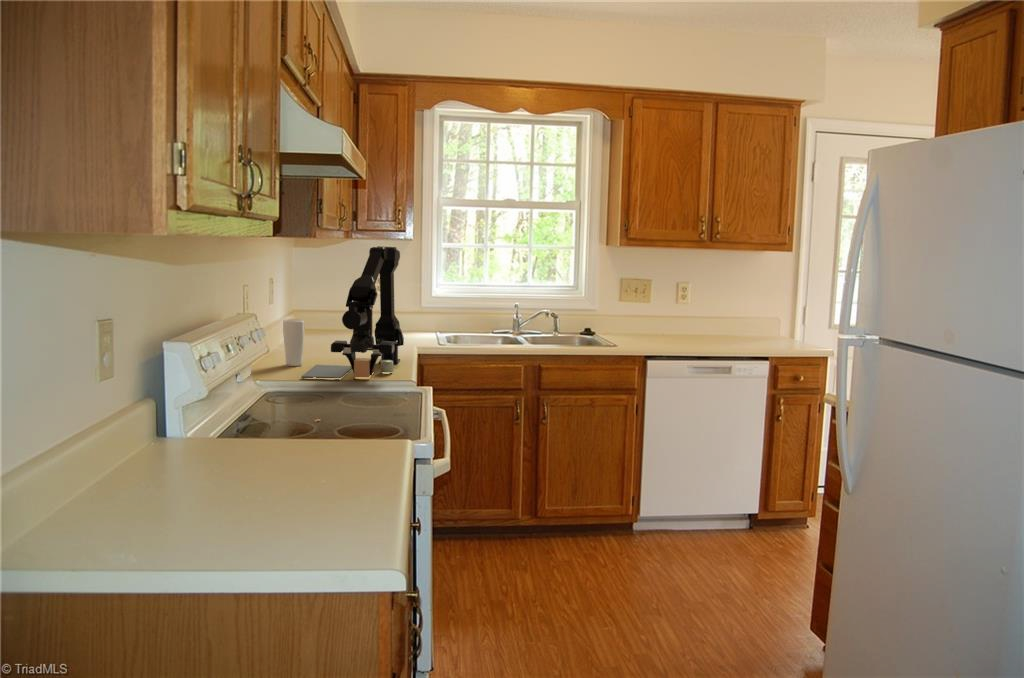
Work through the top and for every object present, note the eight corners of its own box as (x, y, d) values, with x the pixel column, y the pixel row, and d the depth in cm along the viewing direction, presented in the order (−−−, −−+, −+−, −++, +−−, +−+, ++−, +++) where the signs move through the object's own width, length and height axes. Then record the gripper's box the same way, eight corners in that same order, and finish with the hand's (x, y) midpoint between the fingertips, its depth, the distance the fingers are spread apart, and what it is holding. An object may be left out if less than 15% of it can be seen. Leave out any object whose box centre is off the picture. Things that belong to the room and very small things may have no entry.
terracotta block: (357, 376, 247) (357, 357, 246) (371, 377, 247) (371, 358, 246) (354, 379, 243) (354, 360, 242) (368, 380, 243) (368, 361, 242)
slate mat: (316, 367, 259) (316, 364, 259) (352, 368, 259) (352, 365, 259) (301, 379, 241) (301, 376, 241) (340, 380, 241) (340, 377, 241)
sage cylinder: (381, 371, 256) (381, 359, 255) (394, 372, 256) (394, 360, 255) (379, 374, 252) (379, 362, 251) (392, 374, 252) (392, 362, 251)
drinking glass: (282, 363, 263) (281, 319, 261) (302, 362, 266) (302, 318, 264) (285, 367, 257) (284, 322, 255) (306, 366, 260) (306, 321, 258)
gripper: (326, 327, 234) (326, 379, 237) (389, 329, 234) (388, 381, 237) (334, 322, 245) (335, 371, 248) (394, 324, 245) (394, 373, 248)
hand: (362, 374), depth 245 cm, fingers closed on terracotta block, 4 cm apart
